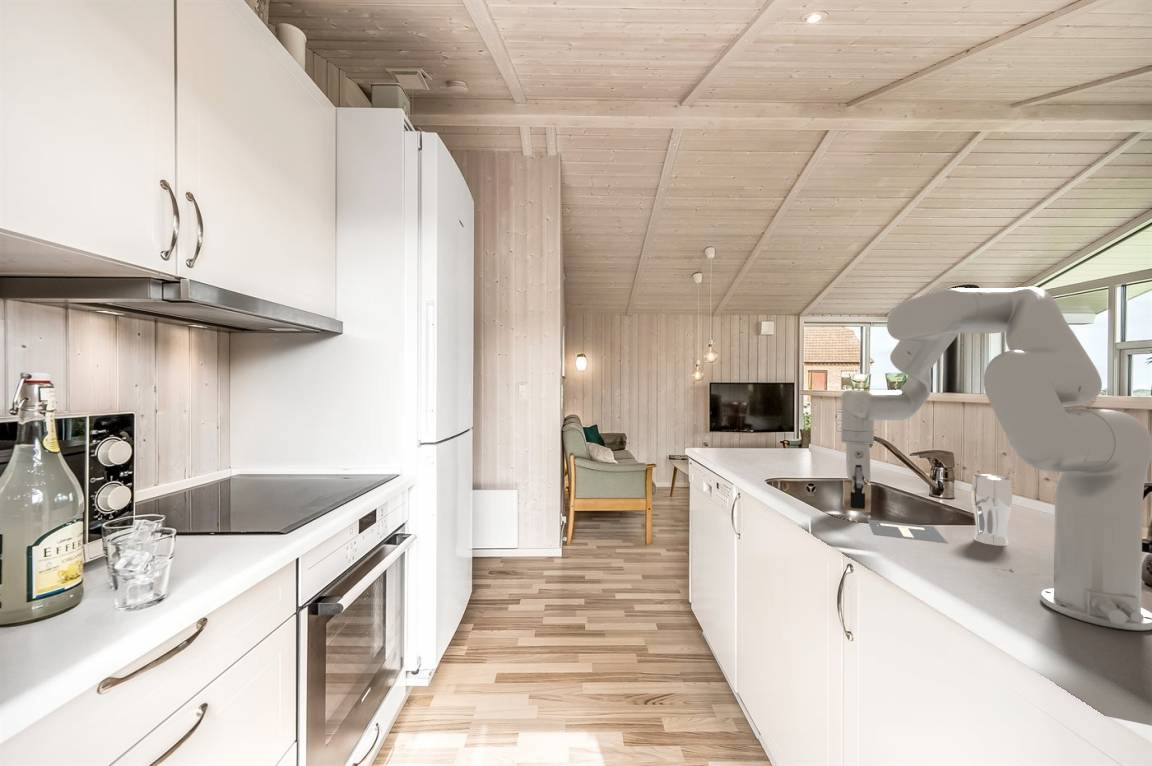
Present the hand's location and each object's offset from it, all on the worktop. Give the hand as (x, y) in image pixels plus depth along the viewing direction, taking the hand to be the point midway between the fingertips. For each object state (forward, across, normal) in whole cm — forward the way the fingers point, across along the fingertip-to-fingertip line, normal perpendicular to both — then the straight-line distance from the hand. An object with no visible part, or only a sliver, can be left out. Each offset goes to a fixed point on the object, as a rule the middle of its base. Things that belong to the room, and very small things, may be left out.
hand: (856, 504), depth 134 cm
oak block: (+1, 0, 0) cm, 1 cm away
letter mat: (+3, -12, -9) cm, 15 cm away
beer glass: (+3, -13, -25) cm, 28 cm away
